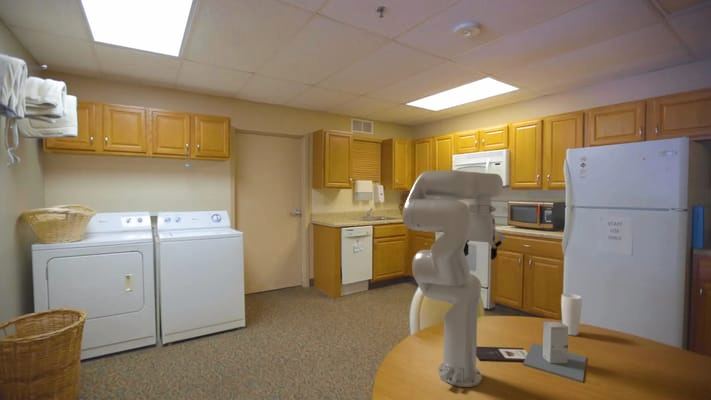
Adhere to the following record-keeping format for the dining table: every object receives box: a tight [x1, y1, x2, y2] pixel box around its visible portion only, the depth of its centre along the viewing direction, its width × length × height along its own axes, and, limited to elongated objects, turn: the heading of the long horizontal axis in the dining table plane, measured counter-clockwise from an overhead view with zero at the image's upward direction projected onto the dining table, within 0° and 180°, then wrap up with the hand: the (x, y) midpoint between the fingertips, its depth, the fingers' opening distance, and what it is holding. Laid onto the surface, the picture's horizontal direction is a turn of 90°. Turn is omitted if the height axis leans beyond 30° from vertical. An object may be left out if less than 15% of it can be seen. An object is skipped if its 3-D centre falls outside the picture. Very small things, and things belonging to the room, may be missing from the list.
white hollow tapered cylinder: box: [560, 293, 583, 337], centre depth 130 cm, size 7×7×15 cm
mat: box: [522, 342, 587, 383], centre depth 108 cm, size 18×16×1 cm
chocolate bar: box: [476, 346, 528, 363], centre depth 113 cm, size 9×1×18 cm
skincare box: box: [542, 321, 569, 363], centre depth 108 cm, size 6×4×12 cm
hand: (479, 257), depth 119 cm, fingers open, 9 cm apart
